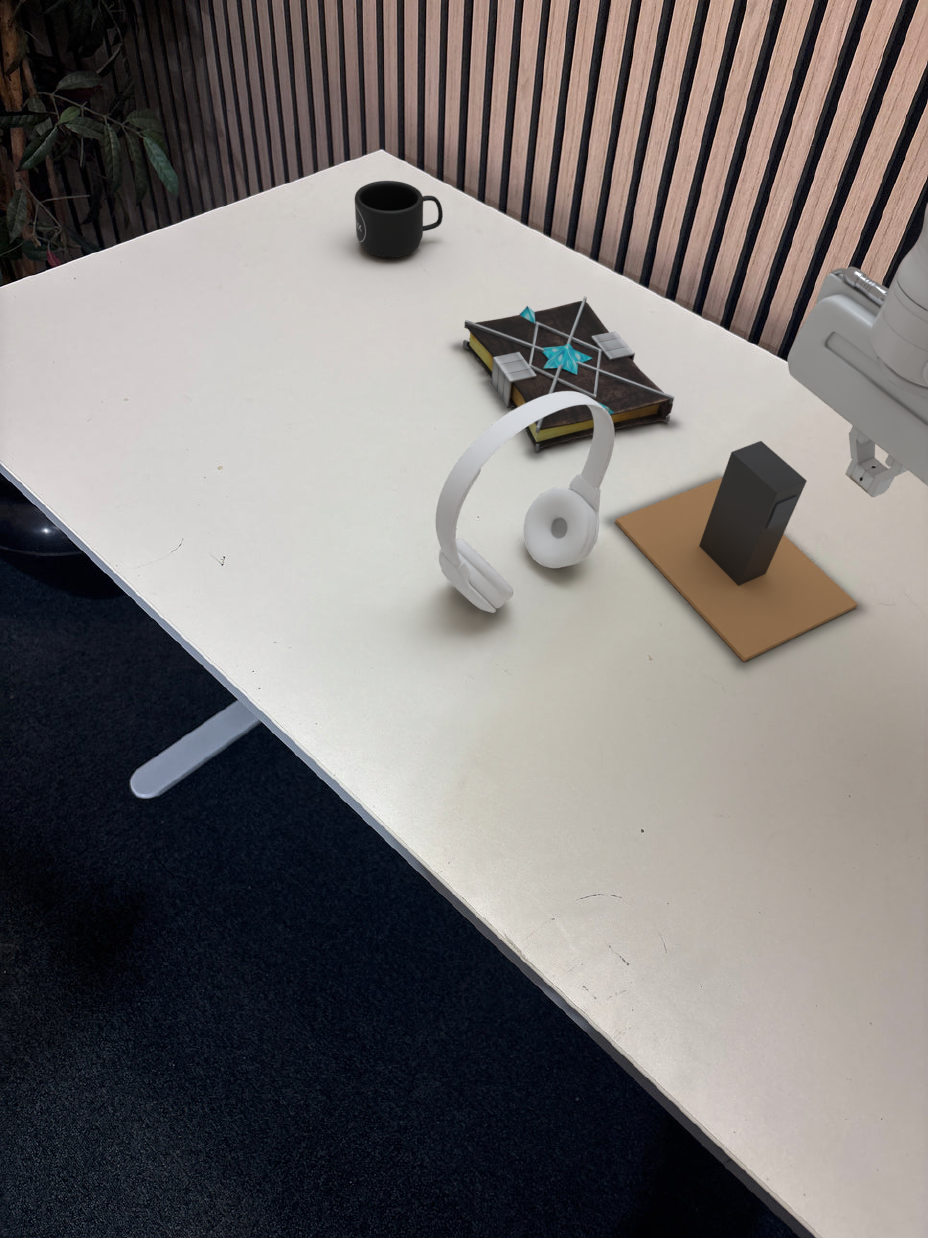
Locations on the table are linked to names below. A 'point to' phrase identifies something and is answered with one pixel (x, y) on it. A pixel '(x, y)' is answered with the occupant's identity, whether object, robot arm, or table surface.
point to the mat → (736, 613)
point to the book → (566, 369)
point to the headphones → (554, 520)
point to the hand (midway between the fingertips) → (864, 484)
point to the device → (751, 512)
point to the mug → (391, 218)
